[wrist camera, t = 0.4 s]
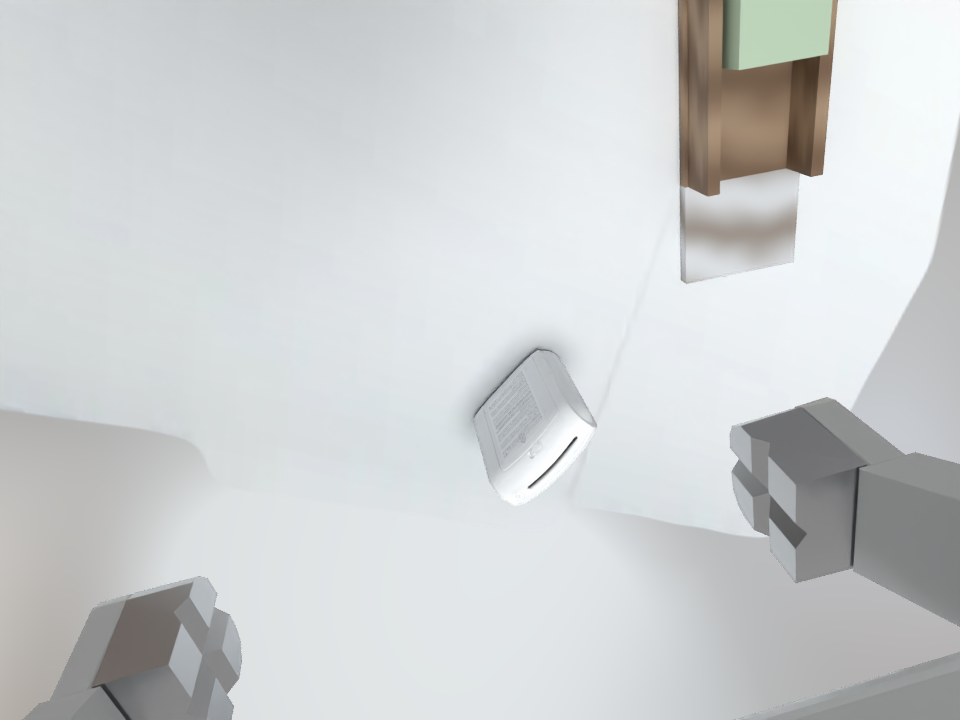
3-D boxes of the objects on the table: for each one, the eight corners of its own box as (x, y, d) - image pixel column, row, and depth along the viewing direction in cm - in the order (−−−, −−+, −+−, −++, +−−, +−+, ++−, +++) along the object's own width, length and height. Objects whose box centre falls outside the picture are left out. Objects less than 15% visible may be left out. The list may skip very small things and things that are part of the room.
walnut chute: (677, -43, 49) (705, -48, 45) (808, -64, 50) (847, -72, 46) (681, 279, 60) (703, 297, 56) (787, 258, 61) (817, 274, 57)
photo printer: (498, 442, 65) (526, 526, 54) (464, 420, 63) (486, 502, 52) (571, 365, 62) (615, 437, 52) (538, 339, 61) (576, 409, 50)
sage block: (706, -8, 49) (740, -11, 45) (792, -23, 50) (834, -27, 45) (706, 66, 51) (738, 70, 47) (788, 51, 52) (828, 54, 47)
